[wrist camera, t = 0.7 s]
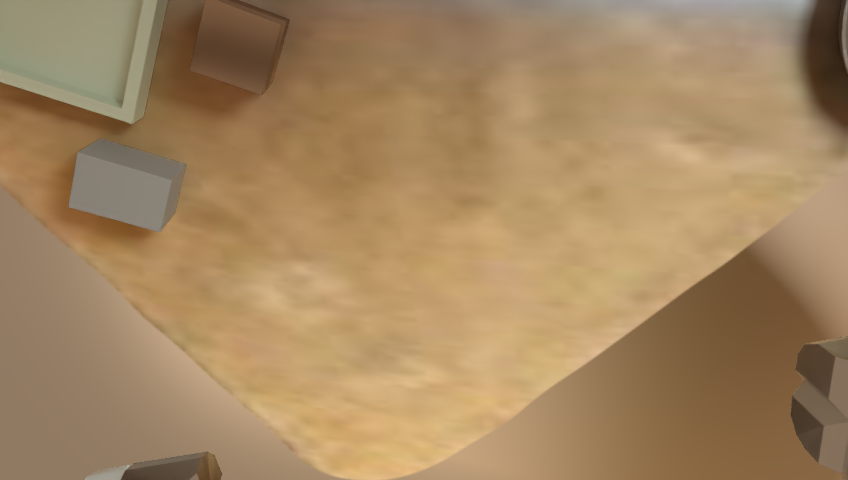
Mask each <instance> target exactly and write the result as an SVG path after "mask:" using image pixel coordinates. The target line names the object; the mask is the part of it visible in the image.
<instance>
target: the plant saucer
mask: <svg viewBox="0 0 848 480" xmlns="http://www.w3.org/2000/svg"><path fill="white" fill-rule="evenodd" d="M838 36H839V47H840V53H841V58H842V62H843V65H844V69H845V71H846V74H847V76H848V0H842V4H841V9H840V15H839V25H838Z"/></svg>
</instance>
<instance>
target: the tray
mask: <svg viewBox="0 0 848 480" xmlns="http://www.w3.org/2000/svg"><path fill="white" fill-rule="evenodd" d="M167 3H168V0H0V82H2V83H5V84H8V85H11V86H14V87H18V88H21V89H24V90H27V91H30V92H33V93H36V94H40V95H43V96H46V97H49V98H52V99H55V100H58V101H61V102H65V103H68V104H71V105H74V106H77V107H80V108H83V109H87V110H90V111H93V112H96V113H99V114H102V115H105V116H109V117H112V118H115V119H118V120H121V121H124V122H127V123H130V124H133V123H134V122H136V121H138V120H139V119H141V118H142V117H144V113H145V108H146V103H147V98H148V93H149V89H150V84H151V79H152V74H153V70H154V65H155V60H156V55H157V50H158V46H159V41H160V36H161V31H162V27H163V22H164V17H165V12H166V7H167Z"/></svg>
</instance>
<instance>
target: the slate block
mask: <svg viewBox="0 0 848 480" xmlns="http://www.w3.org/2000/svg"><path fill="white" fill-rule="evenodd" d="M185 168H186V164H184V163H180V162H177V161H174V160H170V159H167V158H164V157H161V156H157V155H154V154H151V153H148V152H144V151H141V150H138V149H134V148H131V147H128V146H125V145H121V144H118V143H115V142H112V141H108V140H105V139H102V138H100V139H98V140H96V141H95V142H93V143H92V144H90V145H88V146H87V147H85V148H84V149H82V150H80V151H79V152H78V153H77V159H76V165H75V171H74V176H73V182H72V188H71V194H70V200H69V206H68V207H70V208H74V209H77V210H81V211H84V212H88V213H92V214H95V215H99V216H103V217H106V218H110V219H113V220H117V221H121V222H124V223H128V224H131V225H135V226H139V227H142V228H146V229H149V230H153V231H157V232H161V230H162V229H163V228H164V226H165V225H166V224H167V223H168V221H169V220H170V219H171V217H172V216H173V215H174V214H175V211H176V206H177V202H178V198H179V194H180V189H181V185H182V181H183V177H184V172H185Z"/></svg>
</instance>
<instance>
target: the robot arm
mask: <svg viewBox="0 0 848 480" xmlns="http://www.w3.org/2000/svg"><path fill="white" fill-rule="evenodd" d="M796 370H797V372H798V373H799V374H800V375H801V377H802V378H803V379H804V382H803V383H802V384H801V385H800V387H799V388H798V389H797V390H796V392H795V393H794V394H793V395H792V404H791V418H792V421H793V425H794V428H795V431H796V435H797V436H798V438H799V440H800V441H801V443H802V444H803V446H804V448H805V449H806V450H807V452H808V453H809V454H810V455H811V456H812V457H813V458H814V459H815V460H816V461H817V462H818V463H819V464H821V465H823V466H826V467H828V468H830V469H832V470H835V471H837V472H839V473H841V474H842V480H848V336H845V337H840V338H835V339H830V340H824V341H819V342H813V343H808V344H804V345H803V347H802V348H801V350H800V352H799V353H798V357H797V364H796ZM221 476H222V472H221V470H220V467H219V465H218V463H217V460H216V458H215V455H213V454H211V453H209V452H203V453H197V454H191V455H184V456H177V457H171V458H165V459H158V460H152V461H146V462H139V463H134V464H133V465H124V466H117V467H112V468H105V469H100V470H96V471H94V472H93V473H91V474H90V475H88V476H87V477H86V478H85V479H84V480H221Z"/></svg>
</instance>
